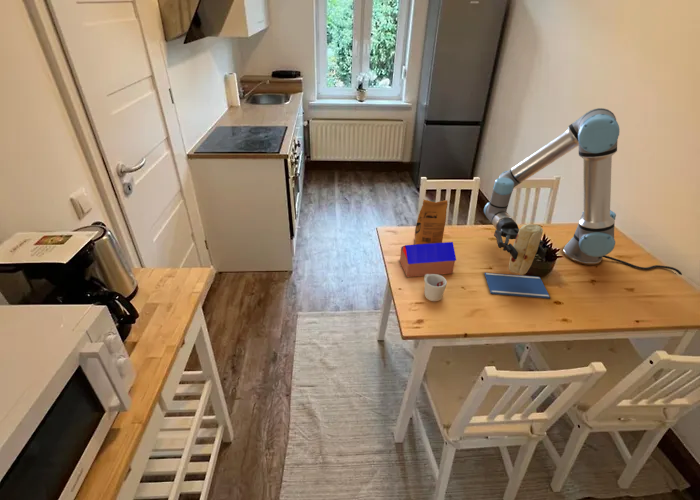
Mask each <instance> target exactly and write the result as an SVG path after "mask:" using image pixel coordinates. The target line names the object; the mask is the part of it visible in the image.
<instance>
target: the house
mask: <svg viewBox="0 0 700 500" xmlns="http://www.w3.org/2000/svg"><path fill="white" fill-rule="evenodd" d="M456 261H457V256H456V251H455V246H454V242H453V241H446V242H442V243H430V244H405V245H403V246H401V247H400V255H399V262H400V264H401V267H402V269H403V271H404V274H405V275H406V277H407V278H408V277H409V278H413V277H424V276H425V275H426V274H429V275H430V274H438V275H446V274H447V275H448V274H453V273H454V268H455V264H456V263H455V262H456Z"/></svg>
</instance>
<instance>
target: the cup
mask: <svg viewBox="0 0 700 500" xmlns="http://www.w3.org/2000/svg"><path fill="white" fill-rule="evenodd" d="M423 277H424V278H423V281H424V291H423V292H424V297H425V298H426V299H427V300H428V301H431V302H439V301H441V300H442V298H443V296H444V293H445V291H446V287H447V285H448V281H447V279H446V278H445V277H444V276H443V275H442V274H430V275H429V274H426V275H424V276H423Z"/></svg>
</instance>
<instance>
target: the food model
mask: <svg viewBox="0 0 700 500" xmlns="http://www.w3.org/2000/svg"><path fill="white" fill-rule="evenodd" d="M519 229H520V230H519V232H518V234H517V237H516V239H514V242H513V244H512V246H513V247H514V248H515V250H516V251H517V252H518V256H517V259H514V258H513V257H512V256H511V255H510V257H509V262H508V271H509V272H510V273H513V274H519V275H522V276H525V275H526V274H527V273H528V271H529V270H530V268H531V266H532V264H533V262H534V259H535V257H536V254H537V250H538V247H539V243H540V240H542V236H543V232H544V229H543V227H542V226H541V225H538V224H533V223H531V224H529V223H527V224H524V225H522V226H521V227H520V228H519Z"/></svg>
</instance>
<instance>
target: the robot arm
mask: <svg viewBox="0 0 700 500" xmlns="http://www.w3.org/2000/svg"><path fill="white" fill-rule="evenodd" d="M619 136H620V125H619V123H618V121H617V117H616V115H615V114H614V112H612V111H611V110H609V109H608V108H604V107H597V108H593V109H591V110H589V111H586V112H585V113H584V114H583V115H581V116H580V117H579V118H577V119H576V120H575V121H574V122H571V124H569V125H568V126H567V129H566V130H565V131H564V132H562V133H561V134H559V135H558V136H556V137H555V138H553V139H552V140H551V141H549V142H547V143H546V144H545V145H543V146H541V148H539V149H537V150H536V151H535V152H533V153H532V154H530V155H529V156H526V158H524V159H523V160H521V161H520V162H518V163H517V164H516V165H515V166H513V167H511V168H510V169H509V170H504V171H503V172H502V173H500V174H499V176H498V177H497V178H496V179H495V180H494V184H493V186H492V187H493V188H492V192H491V197H490V200H489V201H488V202H487V203H486V204H485V205H484V208H483V213H484V215H485V217H486V219H487V220H488V221H489V222H490V223H491V225H492V226H493V227H494V228H495V230H494V233H493V236H494V238H495V239H496V243H497V248H498V249H502V251H504V252H507V253H508V254H510V256H512V257H513V258H514V259H517V256H518V252H517V251H516V250H515V248H514V247H513V244H512V243H509V242H510V240H515V239H516V237H517V234H518V232H519V230H520V228H519V226H518V224H517V222H516V221H515V220H514V219H513V217H512V216H511V215H510V214H509V213H508V212H507V211H508V207H509V204H510V201H511V197H512V194H513V191H514V188H516V187H518V185H520V184H521V183H523V182H525V181H526V180H528V179H530V178H531V177H532V176H534V175H535V174H537V173H539V172H540V171H542V170H544V169H545V168H546V167H548V166H550V165H552V164H553V163H554V162H555V161H558V160H559V159H560V158H562V157H564V156H565V155H567V154H568V153H569V152H571V151H573V150H575V149H576V148H577V147H578V156H579V157H580V158H582V159H583V160H582V161H583V163H582V164H583V169H582V170H583V172H582V173H583V176H582V177H583V182H582V183H583V186H582V187H583V188H582V189H583V211H582V212H581V213H582V214H581V217H580V219H579V221H578V224H577V226H576V229H575V231H574V234H573V237H571V238H570V239H569V241H568V242H567V243H566V244H565V245H564V246H563V249H562V253H563V255H564V256H565V257H566V258H567V259H569V260H570V261H572V262H574V263H577V264H580V265H584V266H597V265H599V264H600V263H601V262H602V260H603V258H605V259H609V260H612V261H615V262H618V263H620V264H623V265H626V266H629V267H632V268H635V269H638V270H643V271H648V270H653V269H657V268H658V269H667V270H673V271H675V272H676V273H677V274H678V275H680V276H682V275H683V272H681V270H680V269H678V268H676V267H673V266H668V265H659V264H655V265H652V266H647V267H643V266H638V265H636V264H632V263H629V262H628V261H625V260H621V259H618V258H615V257H612V256H609V255H608V254H610V253H612V252H613V251H614V249H615V246H616V240H615V220H616V217H617V213H615V211H613V210H611V196H612V195H611V194H612V193H611V192H612V189H611V188H612V165H613V164H612V161H613V160H612V159H613V156H614V155H615V154H616V153H617V152H618V142H619V141H618V139H619ZM503 238H505V240H504V241H503ZM543 245H544V240H542V239H540V243H539V247H538V250H537V253H536V254H537V255H538V257H540V259H542V260H544V259H545V257H546V255H547V252H546V251H545V250H544V247H543Z"/></svg>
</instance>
